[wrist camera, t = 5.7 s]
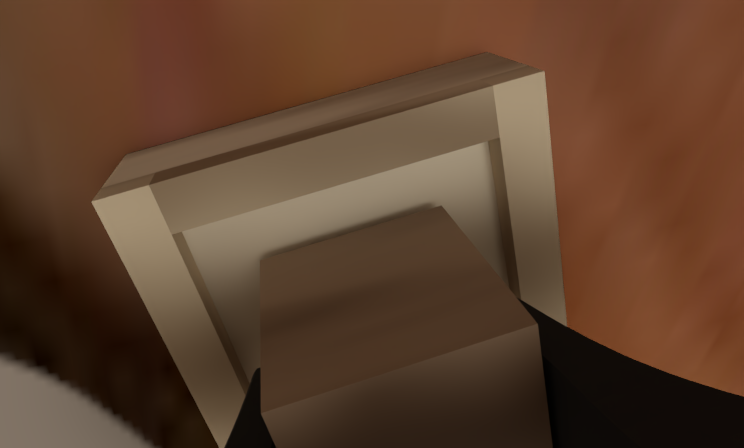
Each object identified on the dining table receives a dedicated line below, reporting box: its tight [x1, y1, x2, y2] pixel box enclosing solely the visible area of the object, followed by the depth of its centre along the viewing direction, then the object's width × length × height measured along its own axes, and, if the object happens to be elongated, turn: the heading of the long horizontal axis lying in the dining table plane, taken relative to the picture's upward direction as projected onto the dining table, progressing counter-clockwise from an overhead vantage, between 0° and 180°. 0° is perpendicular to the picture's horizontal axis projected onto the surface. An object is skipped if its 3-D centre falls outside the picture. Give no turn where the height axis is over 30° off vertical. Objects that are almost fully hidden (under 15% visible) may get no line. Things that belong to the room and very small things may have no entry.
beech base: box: [91, 52, 567, 448], centre depth 15 cm, size 10×10×3 cm
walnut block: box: [260, 205, 553, 448], centre depth 12 cm, size 4×4×5 cm
